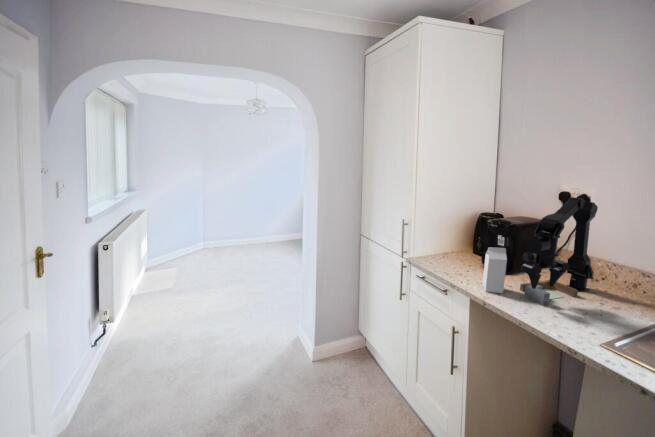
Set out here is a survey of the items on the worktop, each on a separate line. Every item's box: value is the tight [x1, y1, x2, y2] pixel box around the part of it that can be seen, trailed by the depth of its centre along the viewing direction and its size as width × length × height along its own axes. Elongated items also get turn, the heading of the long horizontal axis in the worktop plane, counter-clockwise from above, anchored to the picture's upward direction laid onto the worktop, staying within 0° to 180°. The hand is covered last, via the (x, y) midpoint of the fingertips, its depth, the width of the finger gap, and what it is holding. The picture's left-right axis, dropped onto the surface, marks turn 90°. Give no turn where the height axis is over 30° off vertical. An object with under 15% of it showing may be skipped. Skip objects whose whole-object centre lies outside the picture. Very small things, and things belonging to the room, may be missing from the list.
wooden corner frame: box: [519, 279, 579, 298], centre depth 160 cm, size 18×13×3 cm
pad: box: [543, 288, 565, 300], centre depth 160 cm, size 9×9×1 cm
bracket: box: [523, 285, 550, 307], centre depth 153 cm, size 9×6×5 cm, turn 19°
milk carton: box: [482, 246, 508, 294], centre depth 162 cm, size 7×7×19 cm
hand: (542, 287), depth 149 cm, fingers open, 9 cm apart
